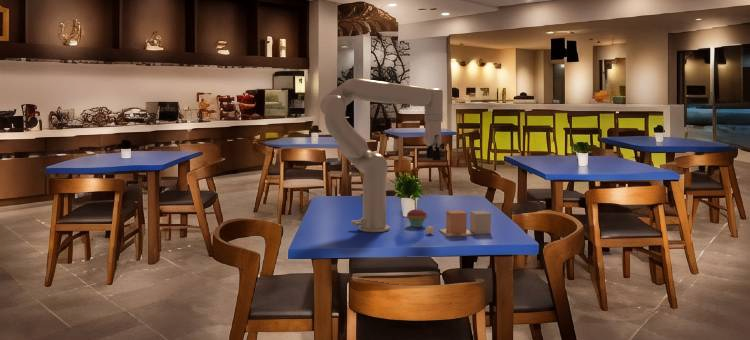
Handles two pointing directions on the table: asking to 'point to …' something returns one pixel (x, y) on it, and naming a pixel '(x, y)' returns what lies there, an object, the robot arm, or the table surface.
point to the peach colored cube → (456, 221)
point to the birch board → (456, 233)
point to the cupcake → (416, 217)
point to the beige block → (480, 222)
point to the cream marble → (429, 230)
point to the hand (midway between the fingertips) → (433, 159)
